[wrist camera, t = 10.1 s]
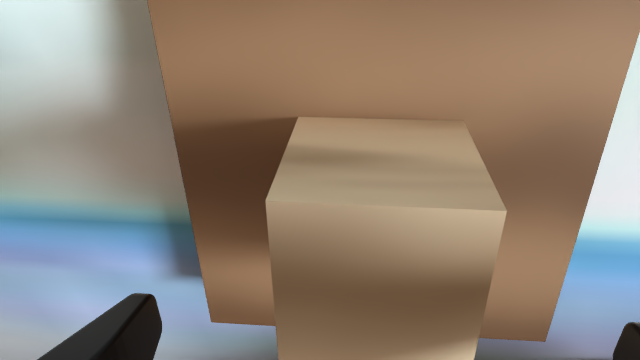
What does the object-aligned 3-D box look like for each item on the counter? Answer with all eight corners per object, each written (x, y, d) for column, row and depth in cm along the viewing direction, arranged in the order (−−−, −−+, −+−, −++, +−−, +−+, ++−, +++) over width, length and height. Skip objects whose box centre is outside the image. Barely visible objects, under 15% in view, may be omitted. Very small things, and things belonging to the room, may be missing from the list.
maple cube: (443, 253, 14) (470, 374, 10) (303, 246, 15) (278, 360, 11) (463, 120, 12) (506, 211, 8) (298, 117, 13) (265, 200, 9)
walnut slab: (520, 283, 18) (545, 341, 16) (232, 269, 20) (211, 322, 17) (601, -48, 13) (661, -41, 10) (185, -37, 14) (141, -29, 11)
